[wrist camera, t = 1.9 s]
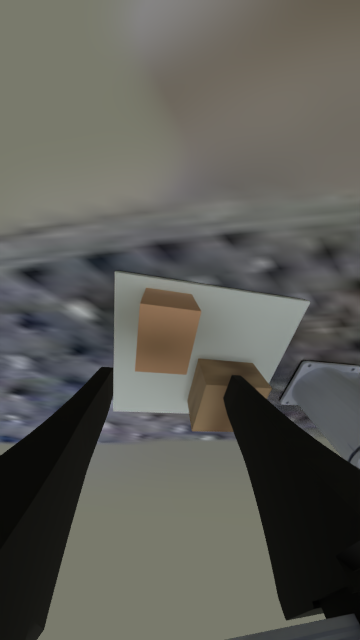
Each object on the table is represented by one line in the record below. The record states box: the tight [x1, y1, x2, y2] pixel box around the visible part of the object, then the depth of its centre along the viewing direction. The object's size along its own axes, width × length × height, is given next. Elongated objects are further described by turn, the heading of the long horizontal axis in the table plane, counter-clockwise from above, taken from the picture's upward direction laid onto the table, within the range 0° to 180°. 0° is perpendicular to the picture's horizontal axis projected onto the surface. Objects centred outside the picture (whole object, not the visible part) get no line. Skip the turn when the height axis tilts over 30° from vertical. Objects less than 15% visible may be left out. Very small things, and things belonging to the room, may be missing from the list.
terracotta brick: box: [135, 288, 201, 375], centre depth 15 cm, size 4×6×4 cm
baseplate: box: [113, 271, 310, 413], centre depth 20 cm, size 20×18×1 cm
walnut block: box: [187, 358, 272, 432], centre depth 20 cm, size 7×7×4 cm
